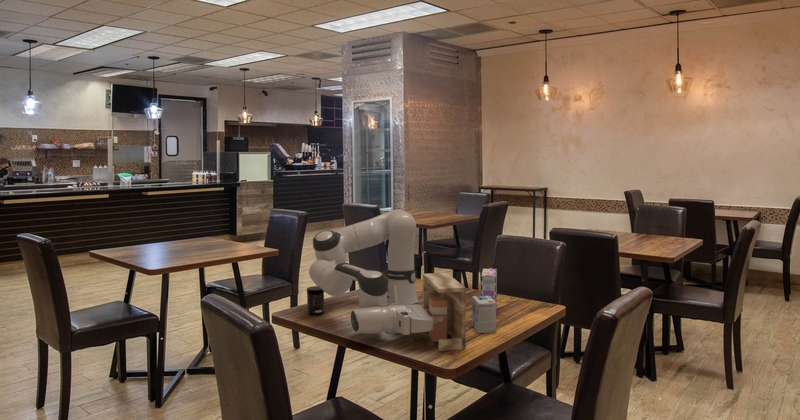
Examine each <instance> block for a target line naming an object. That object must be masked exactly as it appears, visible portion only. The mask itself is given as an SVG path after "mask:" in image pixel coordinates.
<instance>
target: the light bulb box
mask: <svg viewBox="0 0 800 420" xmlns="http://www.w3.org/2000/svg"><path fill="white" fill-rule="evenodd" d="M471 299H472V300H471V301H472V302H471V303H472V304H471V305H472V306H471V312H472V313H471V319H472V320H471V325H472V327H474V329H475V331H476V333H477V334H489V333H490V334H493V333H497V309H496V302H495V301H494V300H493V299H492V298H491V297H490V296H481V295H474V296H472V297H471Z"/></svg>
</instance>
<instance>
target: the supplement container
mask: <svg viewBox="0 0 800 420" xmlns="http://www.w3.org/2000/svg"><path fill="white" fill-rule="evenodd" d="M306 303H307V311H306V312H307V315H309V314H310V315H309V316H311V315H319V316H321V315H320V314H322V315H324V314H325V292H324V291H323V290H322V289H320V288H319V287H318V286H317V285H315V286H314V285H313V286H309V287H308V286H307V288H306ZM323 313H324V314H323Z"/></svg>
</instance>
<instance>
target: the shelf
mask: <svg viewBox="0 0 800 420" xmlns="http://www.w3.org/2000/svg"><path fill="white" fill-rule="evenodd" d="M422 296H423V297H422V307H423V308H424V309H425V310H426V309H428V310H429V297H444V298H445V299H446V300H447V335H449V336H450V337H451V338H447V339H438V343H437V345H438V346H437V347H438V348H437V349H438V352H445V351H446V352H447V351H448V352H449V351H458V350H466V341H467V339H466V338H467V337H466V336H467V335H466V331H467V330H466V325H467V324H466V321H467V320H466V319H467V318H466V317H467V315H466V287H465V286H464V285H463V284H461V283H460V282H459V281H458V279H457V280H456V278H454V277H453V276H452V275H450V274H449V273H448V272H433V273H432V272H431V273H422Z"/></svg>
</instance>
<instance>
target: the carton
mask: <svg viewBox="0 0 800 420" xmlns="http://www.w3.org/2000/svg"><path fill="white" fill-rule="evenodd" d="M429 315H430V317H431V316H433V317H436V316H440V315H441V316H443V322H437V323H434V324H433V330H431V331H428V335H429V336H428V338H429V339H430V341H431V342H432V343H435V342H438V339H448V332H447V300H446V299H445V298H444V297H429Z"/></svg>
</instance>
